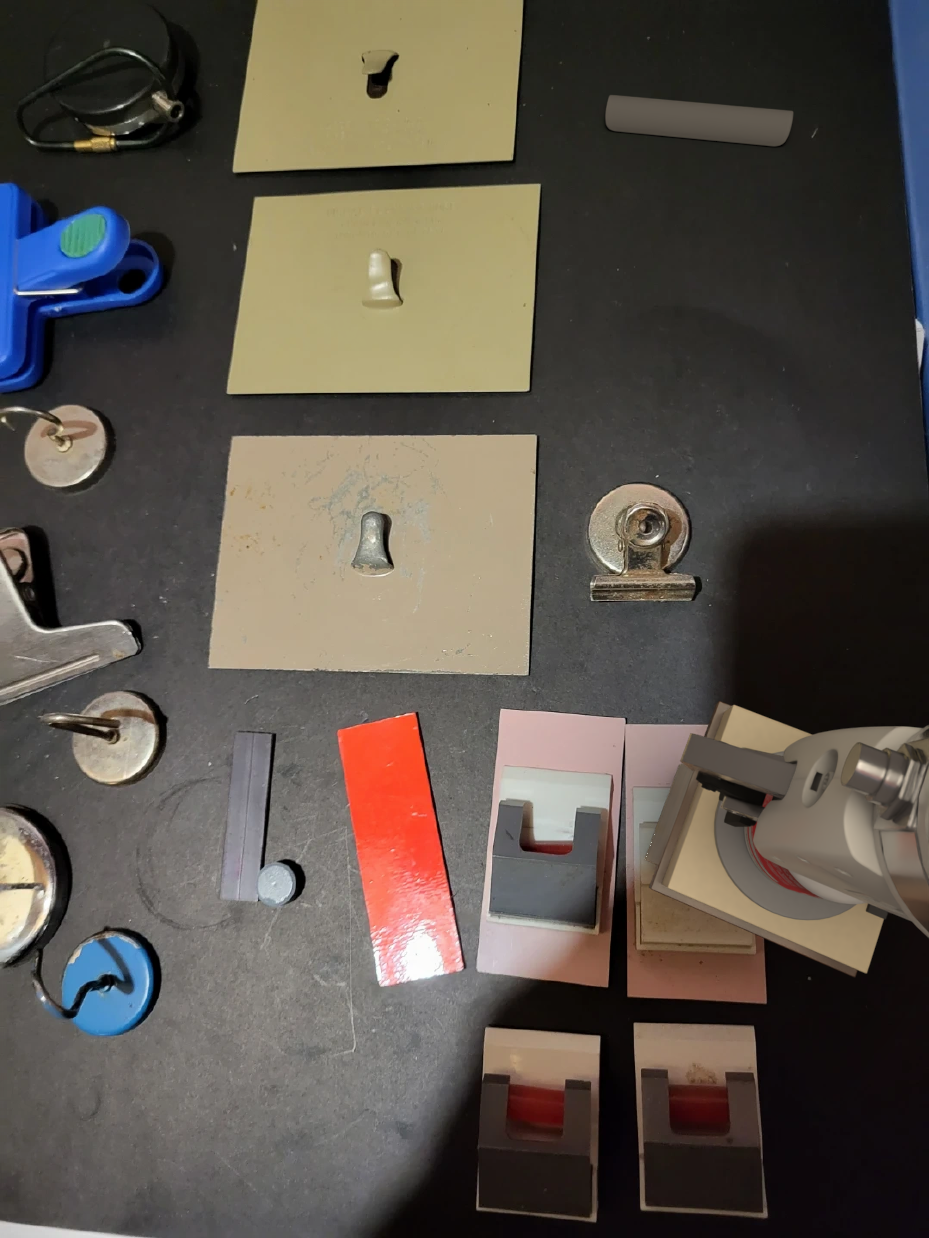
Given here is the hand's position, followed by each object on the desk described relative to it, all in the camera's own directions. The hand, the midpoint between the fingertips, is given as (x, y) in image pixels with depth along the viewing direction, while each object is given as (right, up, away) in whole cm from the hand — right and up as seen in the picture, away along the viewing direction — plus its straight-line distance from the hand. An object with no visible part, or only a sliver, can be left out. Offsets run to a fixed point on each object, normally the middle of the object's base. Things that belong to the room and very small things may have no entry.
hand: (842, 834), depth 40 cm
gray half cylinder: (+8, +64, +54) cm, 84 cm away
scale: (+1, -3, +11) cm, 11 cm away
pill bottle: (+1, -2, +7) cm, 8 cm away
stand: (+4, -9, +37) cm, 38 cm away
